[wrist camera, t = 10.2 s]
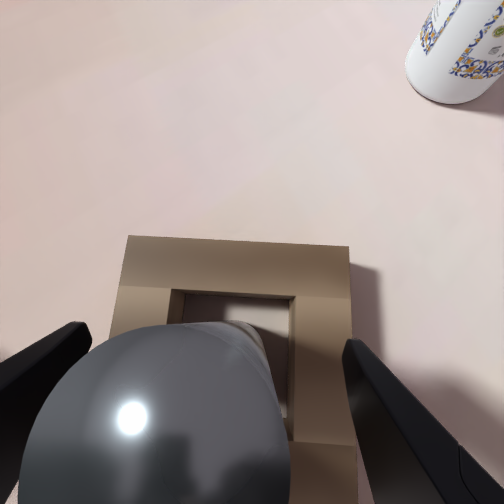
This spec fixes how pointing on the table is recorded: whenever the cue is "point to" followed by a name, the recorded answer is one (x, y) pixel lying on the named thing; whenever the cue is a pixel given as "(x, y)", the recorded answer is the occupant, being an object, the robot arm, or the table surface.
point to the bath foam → (458, 50)
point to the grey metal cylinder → (162, 423)
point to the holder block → (299, 344)
